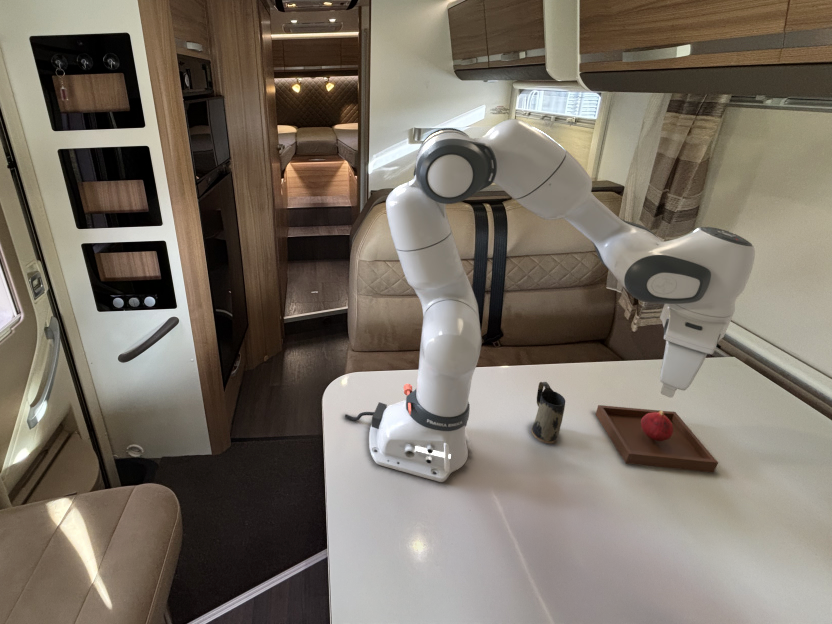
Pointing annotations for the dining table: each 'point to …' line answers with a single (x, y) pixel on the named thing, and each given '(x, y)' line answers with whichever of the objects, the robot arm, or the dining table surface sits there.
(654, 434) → the onion
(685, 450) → the tray
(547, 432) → the mug
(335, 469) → the dining table surface
